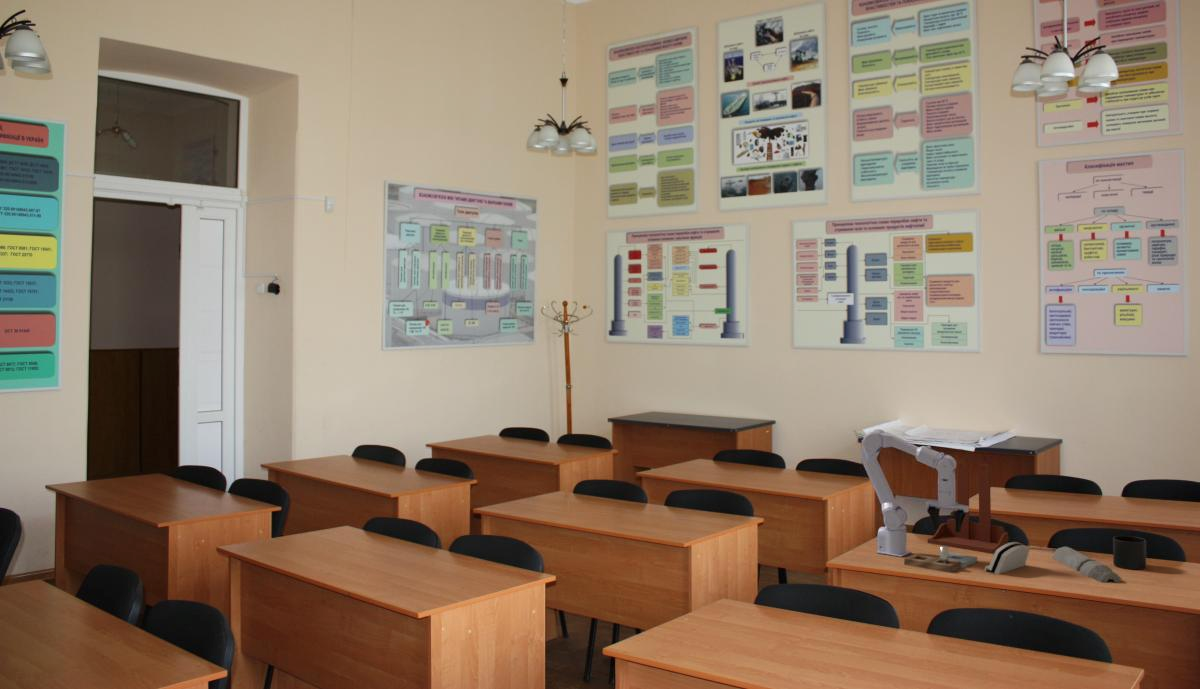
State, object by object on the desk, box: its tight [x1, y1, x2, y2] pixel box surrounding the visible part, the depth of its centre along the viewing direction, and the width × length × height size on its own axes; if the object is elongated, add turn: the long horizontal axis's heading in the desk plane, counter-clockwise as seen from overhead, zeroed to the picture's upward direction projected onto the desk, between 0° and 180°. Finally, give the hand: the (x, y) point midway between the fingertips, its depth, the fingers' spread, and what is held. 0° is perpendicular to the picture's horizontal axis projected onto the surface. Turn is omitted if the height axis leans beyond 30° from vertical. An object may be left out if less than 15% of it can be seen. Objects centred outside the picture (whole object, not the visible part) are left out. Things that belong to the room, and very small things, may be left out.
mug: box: [1112, 535, 1147, 571], centre depth 310 cm, size 9×12×9 cm
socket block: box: [937, 551, 978, 568], centre depth 319 cm, size 10×10×2 cm
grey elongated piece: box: [1052, 546, 1122, 583], centre depth 307 cm, size 9×4×30 cm
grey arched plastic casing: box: [983, 541, 1030, 575], centre depth 309 cm, size 17×5×10 cm, turn 126°
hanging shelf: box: [927, 460, 1009, 555], centre depth 342 cm, size 24×13×30 cm, turn 43°
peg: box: [939, 545, 949, 564], centre depth 312 cm, size 3×3×7 cm
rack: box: [903, 553, 962, 573], centre depth 315 cm, size 16×8×2 cm, turn 46°
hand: (947, 530), depth 323 cm, fingers open, 7 cm apart
